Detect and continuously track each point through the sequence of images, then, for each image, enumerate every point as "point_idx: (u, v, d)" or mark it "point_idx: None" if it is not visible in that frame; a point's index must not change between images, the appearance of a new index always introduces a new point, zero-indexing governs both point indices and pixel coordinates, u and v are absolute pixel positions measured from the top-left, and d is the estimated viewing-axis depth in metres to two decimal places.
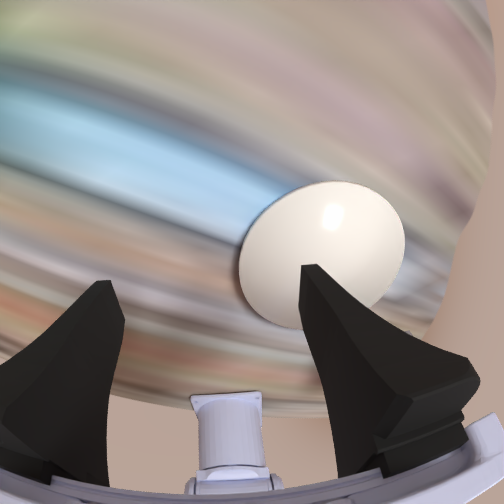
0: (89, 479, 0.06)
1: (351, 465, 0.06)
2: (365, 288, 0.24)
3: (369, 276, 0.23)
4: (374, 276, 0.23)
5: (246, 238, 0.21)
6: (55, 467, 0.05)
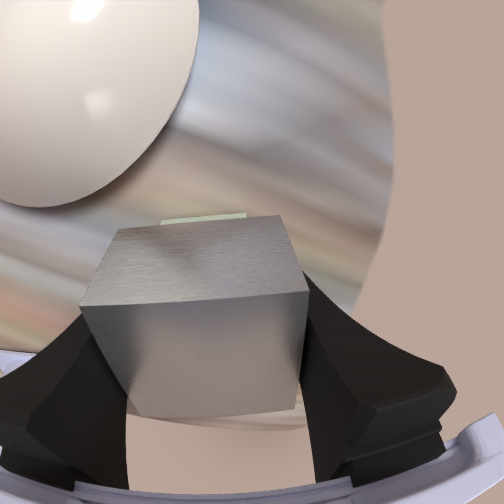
0: (109, 482, 0.06)
1: (325, 471, 0.06)
2: (118, 88, 0.09)
3: (118, 57, 0.08)
4: (131, 55, 0.08)
5: None
6: (78, 472, 0.05)
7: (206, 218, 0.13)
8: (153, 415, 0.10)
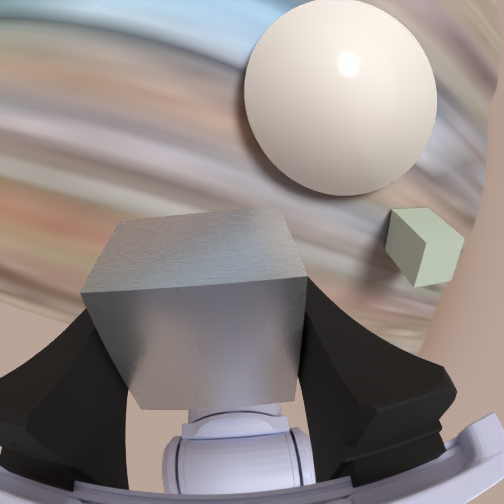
0: (109, 482, 0.06)
1: (325, 471, 0.06)
2: (400, 138, 0.18)
3: (403, 121, 0.17)
4: (409, 122, 0.17)
5: (253, 50, 0.14)
6: (78, 472, 0.05)
7: (413, 209, 0.21)
8: (153, 407, 0.10)
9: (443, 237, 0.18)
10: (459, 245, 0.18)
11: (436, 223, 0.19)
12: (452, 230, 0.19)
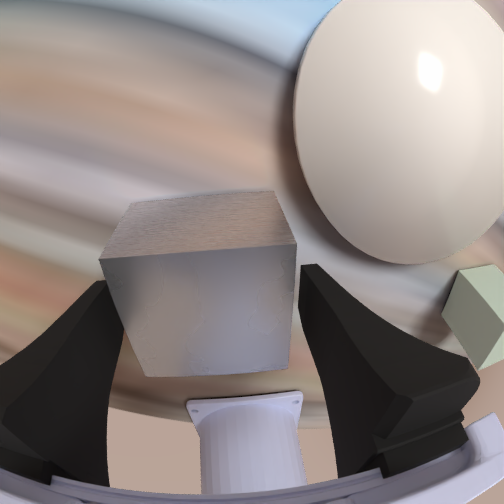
0: (89, 479, 0.06)
1: (351, 465, 0.06)
2: (490, 187, 0.11)
3: (496, 164, 0.11)
4: (501, 166, 0.11)
5: (312, 38, 0.08)
6: (55, 467, 0.05)
7: (480, 268, 0.15)
8: (157, 374, 0.11)
9: None
10: None
11: None
12: None
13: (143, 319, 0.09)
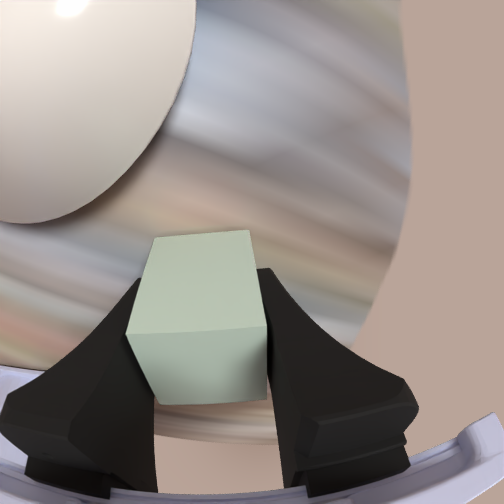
0: (140, 486, 0.06)
1: (287, 478, 0.06)
2: (103, 91, 0.08)
3: (103, 54, 0.07)
4: (118, 52, 0.07)
5: None
6: (113, 479, 0.05)
7: (205, 236, 0.11)
8: None
9: (195, 318, 0.08)
10: (255, 340, 0.08)
11: (224, 272, 0.09)
12: (255, 293, 0.09)
13: None
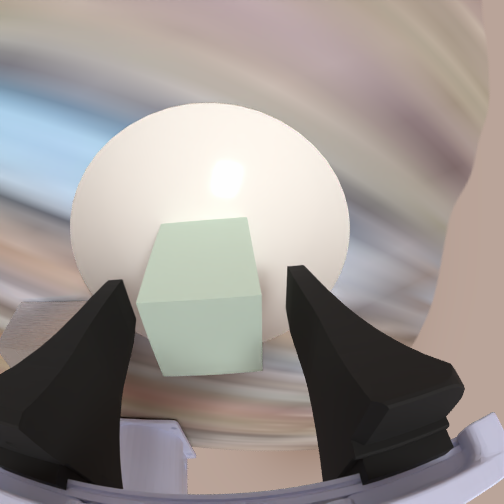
0: (103, 481, 0.06)
1: (333, 469, 0.06)
2: None
3: None
4: None
5: None
6: (71, 471, 0.05)
7: (207, 222, 0.13)
8: None
9: (198, 289, 0.09)
10: (251, 309, 0.09)
11: (225, 252, 0.11)
12: (252, 269, 0.10)
13: None
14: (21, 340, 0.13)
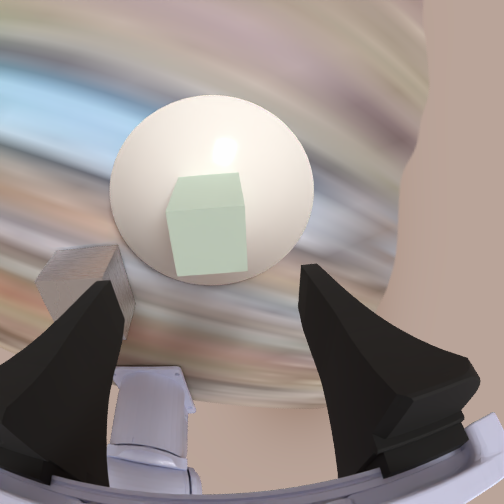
0: (88, 479, 0.06)
1: (351, 465, 0.06)
2: (268, 231, 0.20)
3: (269, 215, 0.20)
4: (277, 215, 0.20)
5: None
6: (55, 467, 0.05)
7: (210, 175, 0.18)
8: None
9: (205, 204, 0.14)
10: (238, 216, 0.14)
11: (222, 188, 0.16)
12: (239, 195, 0.15)
13: (55, 308, 0.18)
14: (58, 274, 0.18)
